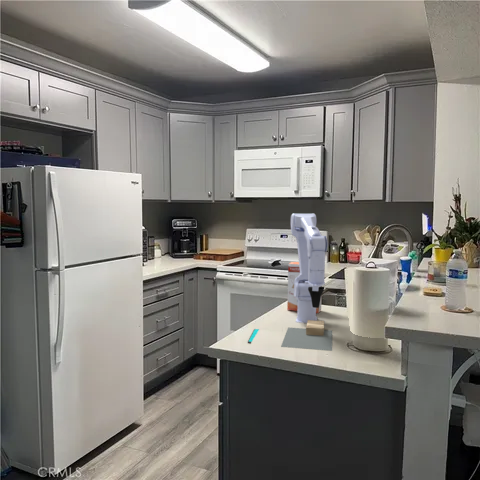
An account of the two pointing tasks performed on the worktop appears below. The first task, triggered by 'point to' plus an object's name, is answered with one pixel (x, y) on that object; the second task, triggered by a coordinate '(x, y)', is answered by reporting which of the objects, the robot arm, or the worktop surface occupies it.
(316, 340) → the rubber mat
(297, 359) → the worktop surface
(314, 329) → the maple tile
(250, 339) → the smartphone
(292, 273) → the cracker box
